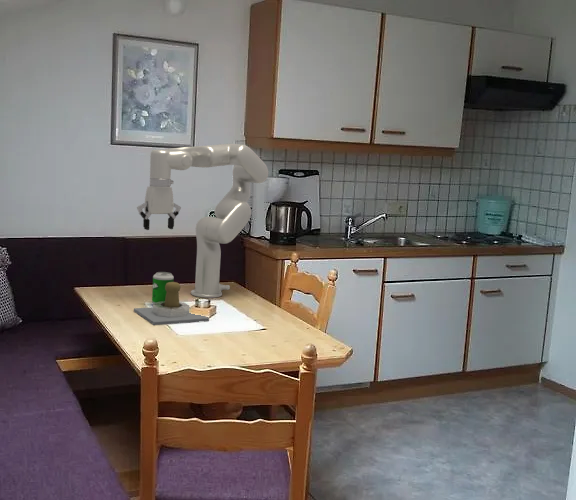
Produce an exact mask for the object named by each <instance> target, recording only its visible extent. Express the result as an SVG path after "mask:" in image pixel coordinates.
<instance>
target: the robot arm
mask: <svg viewBox="0 0 576 500" xmlns="http://www.w3.org/2000/svg"><path fill="white" fill-rule="evenodd" d="M149 156H150V160H149V161H150V162H149V186H147V187H146V192H145V197H144V203H142V204H140V205H138V206H137V207H136V210H137V211H138V214H139V215H140V216H141V218H142V219H143V221H142V222H143V223H142V226H143V230H146V231H149V230H150V221H151V220H150V217H151V216H152V215H168V216H167V217H168V218H167V228H168V229H170V230H173V229H174V227H175V219H176V218H177V216H178V215H179V213H180V212H181V209H182V207H181V206H180V205H179V204H177V203H175V202H174V193H173V187H171V185H174V180H172V177H171V173H172V170H175V171H186V170H188V169H190V168H193V167H195V168H205V169H206V168H214V167H215V168H216V167H223V166H233V169H232V187H231V188H230V189H229V191H228V192H227V193H226V194H225V195H224V197H222V199H220V201H219V202H218V203H217V204H216V206H215V208H214V216H215V217H214V216H203V217H201V218H200V219H199V220H198V221H197V222H196V226H195V236H196V262H195V263H196V264H195V278H194V279H195V281H194V282H195V284H194V289H192V290H191V291H190V294H191V295H192V296H194V297H196V298H197V297H198V298H207V299H208V298H219V297H222V296H223V292H222V291H223V290H224V291H227V290H228V291H229V290H230V288H231V286H230V285H229V284H221V283H220V274H221V273H220V270H221V256H222V255H221V253H222V251H221V245H220V244H229V243H231V242H232V241H233V240H234V239H235V238H236V237H237V236H238V234H240V232H242V230H243V229H244V228H245V227H246V225H247V224H248V222H249V221H250V219H251V215H252V209H251V206H250V204H249V203H248V202H249V200H250V198H251V185H250V184H251V183H252V184H262V183H264V182H265V181H266V180H267V179H268V177H269V168H268V166H267V164H266V163H265V162H264V161H263V160H262V159H261V158H260V157H259V155H257V153H255V151H253V149H252V148H250V147H249V146H248V145H246V144H239V143H219V144H210V145H197V146H185V147H184V146H183V147H172V148H171V147H170V148H165V149H152V150H151V151H150V155H149ZM174 208H175V210H174ZM143 210H144V211H143Z"/></svg>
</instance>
